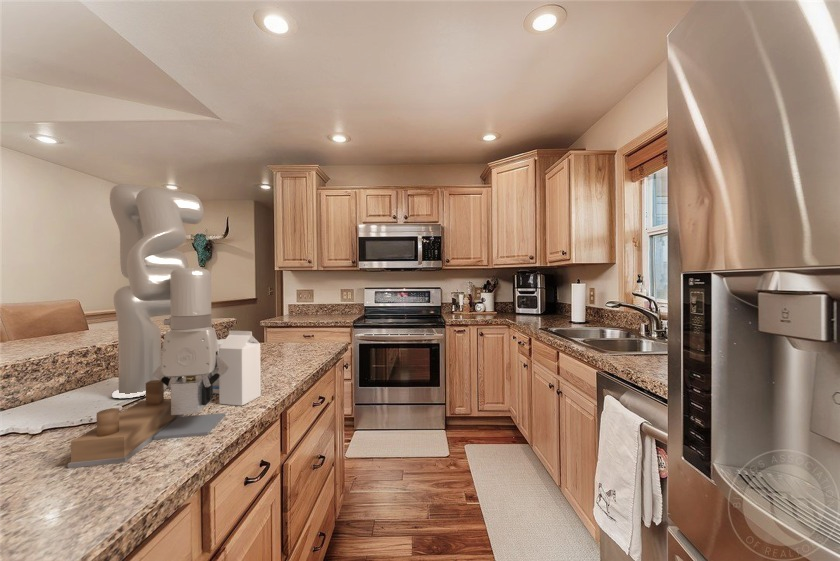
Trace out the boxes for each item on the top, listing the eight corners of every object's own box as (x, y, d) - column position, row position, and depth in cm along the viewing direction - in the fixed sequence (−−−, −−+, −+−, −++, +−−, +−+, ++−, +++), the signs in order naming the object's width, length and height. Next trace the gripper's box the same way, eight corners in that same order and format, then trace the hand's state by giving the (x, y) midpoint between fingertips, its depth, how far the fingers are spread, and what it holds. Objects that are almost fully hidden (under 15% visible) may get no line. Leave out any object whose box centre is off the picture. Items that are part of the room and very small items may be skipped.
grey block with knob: (187, 403, 75) (186, 371, 75) (211, 401, 76) (210, 370, 76) (171, 415, 69) (170, 380, 69) (197, 412, 70) (197, 378, 70)
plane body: (141, 419, 77) (140, 379, 77) (182, 415, 79) (181, 376, 79) (67, 468, 57) (67, 414, 57) (125, 462, 59) (124, 409, 59)
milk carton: (242, 406, 84) (241, 333, 84) (219, 404, 86) (218, 332, 86) (260, 396, 91) (260, 329, 91) (239, 395, 93) (238, 328, 93)
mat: (178, 419, 76) (178, 417, 76) (225, 415, 79) (225, 413, 79) (153, 439, 67) (153, 437, 67) (207, 434, 69) (207, 431, 69)
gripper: (136, 327, 67) (137, 415, 67) (227, 323, 71) (228, 407, 71) (157, 322, 74) (158, 401, 74) (238, 320, 78) (239, 395, 78)
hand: (192, 403), depth 73 cm, fingers closed on grey block with knob, 5 cm apart
